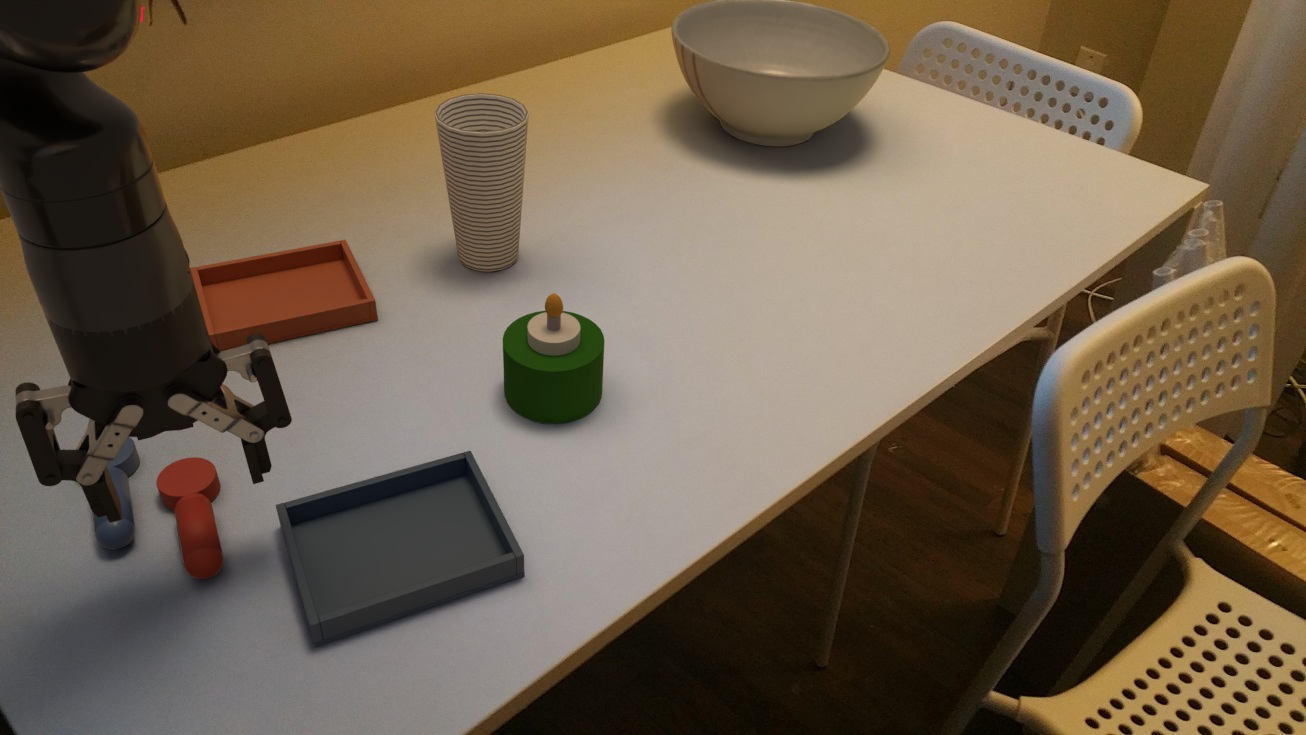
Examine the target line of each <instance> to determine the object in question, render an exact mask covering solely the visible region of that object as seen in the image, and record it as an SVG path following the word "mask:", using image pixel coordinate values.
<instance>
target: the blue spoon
mask: <svg viewBox="0 0 1306 735" xmlns="http://www.w3.org/2000/svg"><path fill="white" fill-rule="evenodd" d="M140 459H141V458H140V454H139V452H138V449H137V446H136V444H135V441H134V440H133V438H132V437H128V438H127V439H126V441H125V443H124V444H123V446H122V448H121V449H120V451H119V453H118V454H117V456H116V458H115V459H114V460H110V461H109V463H108V465H107V468H108V471H109V473H110V475H111V478H112V480H113V483H114V485H115V488H116V490H117V493H118V495H119V499H120V503H121V511H122V520H119V521H115V522H111V523H110V522H109V520H108V518H107V516H103V517H97V516H96V515H95V514H94V513H93V512H92V515H93V516H92V517H93V525H94V534H95V535H94V536H95V539H96V541H97V543H98V544H99V545H100V546H101V547H103V548H105V549H107V550H108V549H109V550H120V549H123V548H124V547H127V546H128V545H129V544H131V542H132V541H133V539H134V537H135V534H136V526H135V525H136V524H135V518H134V510H133V503H132V497H131V496H132V494H131V488H130V482H129V477H130V476H131V475H133V474H134V473H135V471H136V470H137V469H138V467H139V465H140V462H141V460H140Z"/></svg>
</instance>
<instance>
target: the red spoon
mask: <svg viewBox="0 0 1306 735" xmlns="http://www.w3.org/2000/svg"><path fill="white" fill-rule="evenodd" d="M156 488H157V490H158V494H159V496H160V500H161V502H162V504H163V505H164V506H165V507H166V508H167V509H169V510H171V511H174V517H175V522H176V528H177V533H178V537H179V538H178V539H179V544H180V545H179V546H180V550H181V556H182V561H183V567H184V569H185V571H186V572H187V574H188V575H190V576H191V577H193V578H194V579H198V580H207V579H210V578H212V577H214V576H216V575H217V574H218V573H219V572H220V571H221V569H222V567H223V564H224V555H223V549H222V546H221V545H222V544H221V542H220V540H221V539H220V536H219V533H218V532H219V531H218V527H217V522H216V518H215V513H214V508H213V504H212V502H213V501H214V500H215V499H216V498H217V496H218V495H219V493H220V491H221V481H220V478H219V475H218V471H217V468H216V466H215V465H214V463H213V462H211V461H210V460H209V459H206V458H203V457H196V456H194V457H193V456H191V457H185V458H182V459H181V458H180V459H177V460H175V461H173V462H171V463H170V464H168V465H167V466H165V467H164V468H163V469H162V470H161V471H160V472H159V474H158V476H157V477H156Z"/></svg>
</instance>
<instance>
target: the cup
mask: <svg viewBox="0 0 1306 735" xmlns="http://www.w3.org/2000/svg"><path fill="white" fill-rule="evenodd" d="M433 114H434V120H435V125H436V126H435V127H436V131H437V136H438V144H439V149H440V156H441V161H442V167H443V174H444V179H445V185H446V191H447V197H448V203H449V209H450V210H449V211H450V215H451V221H452V227H453V234H454V239H455V246H456V251H457V256H458V259H459V262H460V263H461V264H463V265H464V266H465V267H466V268H468V269H471V270H474V271H477V272H488V273H491V272H497V271H502V270H504V269H507V268H510V267H511V266H512V265H513V264H514V263H516V262H517V259H518V256H519V252H520V237H521V224H522V208H523V196H524V184H525V169H526V155H527V143H528V132H529V131H528V128H529V117H530V116H529V114H530V112H529V111H528V109H527V108H526V105H525V104H523V103H522V102H520V101H518V100H517V99H515V98H513V97H509V96H504V95H502V94H494V93H483V92H480V93H479V92H478V93H466V94H460V95H457V96H454V97H450V98H448V99H446V100H444V101H443V102H441V103H439V104H438V105H437V107H436V109H435V110H434V113H433Z"/></svg>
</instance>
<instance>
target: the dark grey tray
mask: <svg viewBox="0 0 1306 735" xmlns="http://www.w3.org/2000/svg"><path fill="white" fill-rule="evenodd" d="M275 509H276V513H277V517H278V522H279V525H280V529H281V532H282V537H283V539H284V543H285V546H286V550H287V554H288V557H289V560H290V564H291V568H292V571H293V574H294V578H295V581H296V585H297V588H298V592H299V595H300V599H301V603H302V606H303V610H304V613H305V616H306V620H307V624H308V627H309V631H310V635H311V638H312V641H313V645H314V647H319V646H322V645H324V644H328V643H331V642H333V641H336V640H340V639H342V638H343V639H344V638H346V637H348V636H351V635H354V634H357V633H360V632H363V631H366V630H369V629H372V628H375V627H377V626H381V625H384V624H387V623H390V622H393V621H396V620H398V619H399V620H400V619H401V618H405V617H408V616H410V615H413V614H417V613H418V612H422V611H425V610H428V609H430V608H433V607H437V606H440V605H442V604H446V603H448V602H452V601H454V600H457V599H460V598H463V597H466V596H469V595H472V594H475V593H478V592H481V591H484V590H487V589H490V588H492V587H496V586H498V585H501V584H504V583H508V582H511V581H513V580H516V579H519V578H522V577H525V575H526V574H525V573H526V572H525V553H524V552H523V549H522V548H521V546H520V544H519V542H518V540H517V538H516V536H515V534H514V532H513V531H512V529H511V526H510V525H509V523H508V520H507V519H506V517H505V515H504V513H503V511H502V510H501V508H500V505H499V504H498V501H497V499H496V497H495V495H494V494H493V491H492V489H491V487H490V486H489V484H488V482H487V480H486V478H485V476H484V474H483V472H482V470H481V468H480V466H479V464H478V463H477V461H476V459H475V456H474V454H473V453H472V451H471V450H467V451H464V452H460V453H457V454H453V455H449V456H446V457H442V458H438V459H435V460H432V461H431V460H430V461H428V462H424V463H421V464H417V465H414V466H410V467H406V468H403V469H399V470H396V471H392V472H388V473H385V474H380V475H377V476H374V477H371V478H367V479H364V480H359V481H356V482H351V483H349V484H346V485H342V486H338V487H335V488H332V489H331V488H330V489H328V490H324V491H321V492H317V493H313V494H309V495H306V496H302V497H299V498H295V499H292V500H289V501H285V502H281V503H277V504H275Z"/></svg>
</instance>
